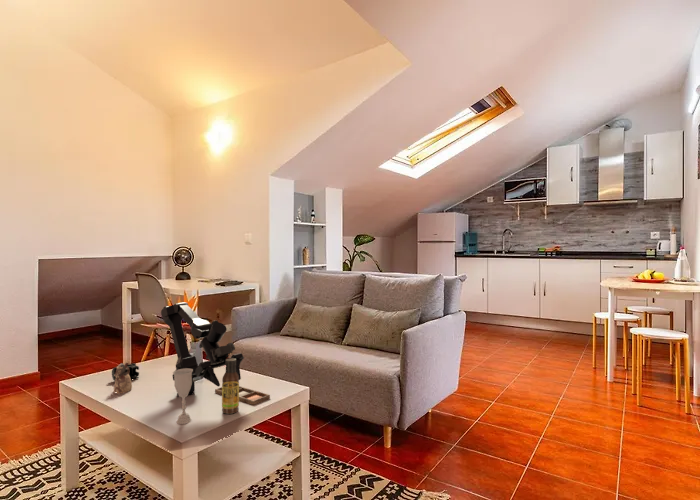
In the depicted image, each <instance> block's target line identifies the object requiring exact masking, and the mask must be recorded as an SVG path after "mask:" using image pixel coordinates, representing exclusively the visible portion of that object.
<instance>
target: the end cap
mask: <svg viewBox="0 0 700 500" xmlns="http://www.w3.org/2000/svg"><path fill="white" fill-rule="evenodd" d="M127 367H128V368H129V370H130V372H129V376H130V378H131V381H133V380H132V379H135V380H137V379H136V378H139V376H140V372H139V370H140V366H138V365H137V364H136V363H135V362H134V363H129V364H128V365H127ZM116 369H117V366H116V367H113V368H112V370H111V377H112V380H113V381H114V382H115V379H116V377H115V376H114V375H115V372H116ZM127 371H128V370H127V369H126V370H125V372H127Z"/></svg>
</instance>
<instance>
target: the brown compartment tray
mask: <svg viewBox="0 0 700 500" xmlns="http://www.w3.org/2000/svg"><path fill="white" fill-rule="evenodd" d="M214 389H215V390H214V393H215V394H218V395H221V396H222V386H221V387H217V388H214ZM270 399H271V394H269V393H265V392H261V391H257V390H254V389H250V388H247V387H244V386H240V385H239V402H243V403H246V404H249V405H251V406H252V405H253V406H255V405H257V404H259V403H262V402H264V401H267V400H270Z"/></svg>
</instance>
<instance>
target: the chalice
mask: <svg viewBox="0 0 700 500" xmlns="http://www.w3.org/2000/svg"><path fill="white" fill-rule="evenodd" d="M175 370H176V369H175ZM175 370H174V371H173V372H172V375H173V374H174V380H173V383H174V387H175V390H176V394H177V393H178V395H179V396H178V397H179V398H181V402H180V403H181V405H182V406H181V410H182V413H180V414H179V416H178V418H177V421H176V424H178V425H186V424H189V423H191V422H192V418H191V416H190V414H189V413H187V412H186V409H187V406H186V403H187V402H186V397H188V396H189V395H188V393H189V391H190V388H191V385H192V371H193V369H189V368H185V369H179V370H176V371H175Z"/></svg>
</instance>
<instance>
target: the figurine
mask: <svg viewBox="0 0 700 500" xmlns="http://www.w3.org/2000/svg"><path fill="white" fill-rule="evenodd" d="M129 364H130V363H129V362H125V364H124V363H120V364H118V365H117V366H116V367H117V369H116V372H115V375H114V376H115V377H116V379H115V381H114V386H113V393H114V392H117V393H116V394H124V393H123V392H125V393H129V392H130V391H132V387H133V383H132V380H131V378H130V376H129V372H130V370H129V368H128V367H127V365H129ZM126 369H127V370H128V371H127V372H125V370H126Z"/></svg>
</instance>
